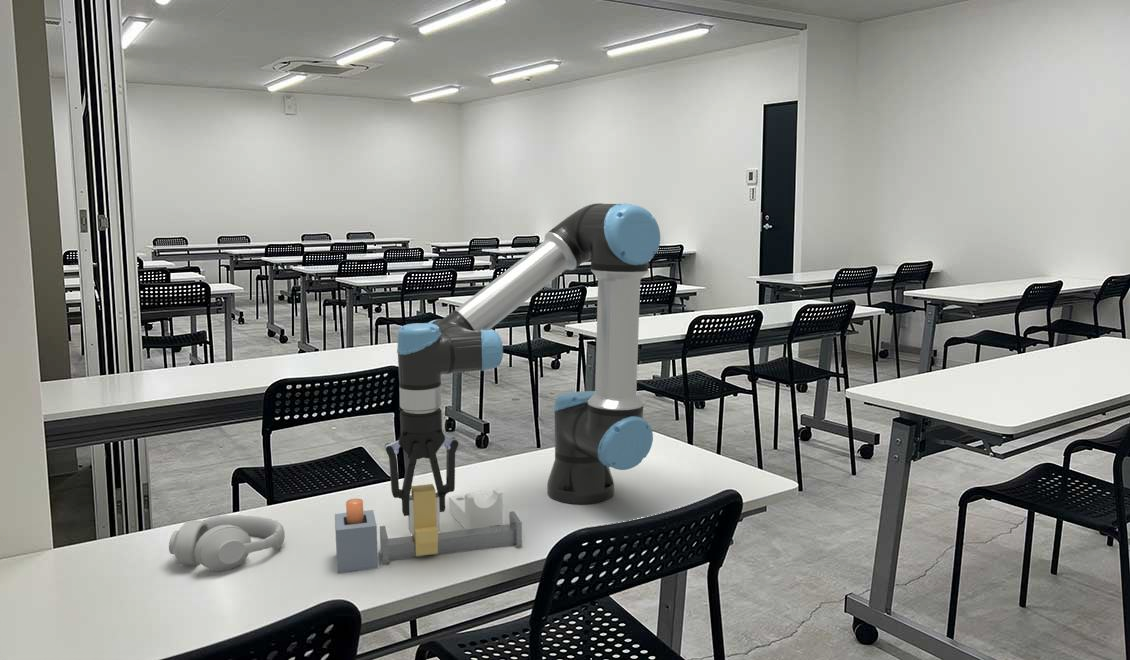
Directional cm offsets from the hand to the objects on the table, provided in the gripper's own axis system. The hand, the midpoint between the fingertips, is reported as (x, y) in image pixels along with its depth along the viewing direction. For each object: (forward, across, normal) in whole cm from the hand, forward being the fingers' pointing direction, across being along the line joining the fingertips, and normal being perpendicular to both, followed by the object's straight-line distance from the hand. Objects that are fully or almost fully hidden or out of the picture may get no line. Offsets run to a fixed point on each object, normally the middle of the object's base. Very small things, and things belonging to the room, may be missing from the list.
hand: (424, 529), depth 157 cm
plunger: (-2, +12, 0) cm, 13 cm away
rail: (+5, -5, 0) cm, 7 cm away
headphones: (+5, +35, -11) cm, 37 cm away
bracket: (+5, -12, -14) cm, 19 cm away
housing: (+5, +12, 0) cm, 13 cm away
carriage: (+5, 0, 0) cm, 5 cm away
